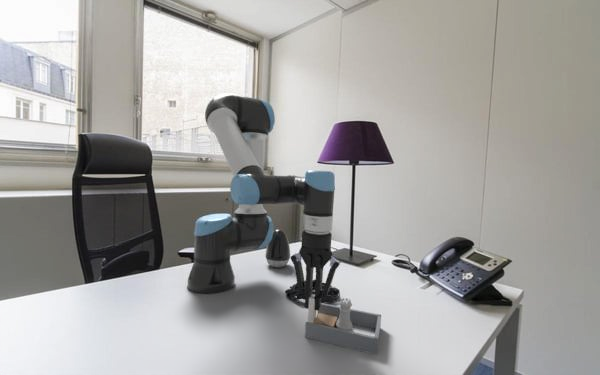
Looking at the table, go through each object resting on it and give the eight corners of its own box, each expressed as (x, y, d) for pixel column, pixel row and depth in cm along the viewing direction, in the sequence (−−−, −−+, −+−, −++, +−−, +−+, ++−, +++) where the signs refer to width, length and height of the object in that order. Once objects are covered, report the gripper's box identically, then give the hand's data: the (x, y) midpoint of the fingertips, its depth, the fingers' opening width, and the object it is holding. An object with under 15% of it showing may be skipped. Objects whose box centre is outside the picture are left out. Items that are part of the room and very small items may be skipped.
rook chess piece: (339, 324, 77) (341, 294, 77) (355, 330, 75) (357, 299, 74) (332, 332, 73) (333, 300, 73) (348, 338, 71) (350, 306, 71)
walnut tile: (313, 331, 74) (313, 322, 74) (318, 322, 78) (319, 313, 78) (332, 336, 72) (333, 326, 72) (336, 326, 77) (337, 317, 77)
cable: (286, 306, 87) (287, 291, 87) (282, 287, 101) (283, 274, 100) (342, 305, 89) (343, 291, 89) (331, 286, 103) (332, 274, 103)
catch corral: (304, 337, 70) (305, 323, 70) (318, 314, 82) (318, 302, 82) (376, 354, 65) (378, 339, 65) (380, 327, 76) (381, 314, 76)
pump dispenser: (262, 262, 125) (264, 226, 124) (286, 261, 128) (287, 226, 127) (267, 270, 115) (268, 232, 114) (292, 269, 118) (294, 231, 117)
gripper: (287, 230, 73) (283, 322, 75) (339, 237, 69) (333, 333, 71) (297, 225, 80) (293, 309, 82) (344, 231, 76) (339, 319, 78)
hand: (311, 320), depth 76 cm, fingers closed
